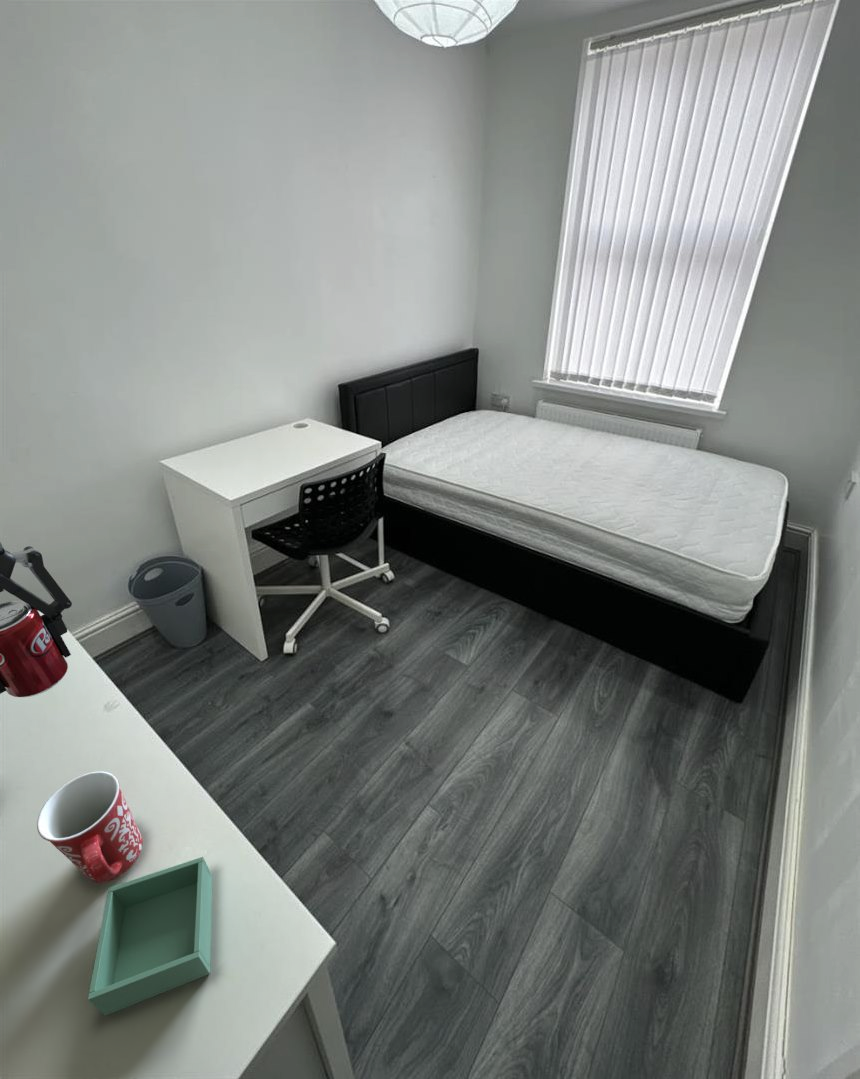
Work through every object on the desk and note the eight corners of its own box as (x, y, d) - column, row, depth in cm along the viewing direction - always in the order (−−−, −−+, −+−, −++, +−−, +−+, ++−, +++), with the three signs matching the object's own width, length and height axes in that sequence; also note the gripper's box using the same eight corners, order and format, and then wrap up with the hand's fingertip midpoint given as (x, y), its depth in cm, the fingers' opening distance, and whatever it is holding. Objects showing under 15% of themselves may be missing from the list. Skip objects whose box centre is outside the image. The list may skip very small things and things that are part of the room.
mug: (74, 846, 70) (35, 795, 62) (143, 810, 74) (114, 758, 67) (82, 933, 61) (38, 885, 54) (159, 886, 66) (128, 836, 58)
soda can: (10, 709, 64) (-36, 644, 58) (6, 676, 69) (-37, 613, 63) (73, 682, 68) (37, 619, 62) (65, 653, 73) (31, 591, 67)
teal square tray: (122, 906, 64) (108, 887, 61) (212, 875, 67) (203, 856, 64) (105, 1015, 55) (87, 1000, 52) (210, 973, 58) (198, 956, 55)
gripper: (-172, 587, 46) (-48, 733, 59) (58, 507, 61) (119, 638, 73) (-188, 561, 50) (-68, 704, 62) (33, 491, 64) (95, 619, 76)
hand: (33, 669), depth 68 cm, fingers closed on soda can, 7 cm apart
